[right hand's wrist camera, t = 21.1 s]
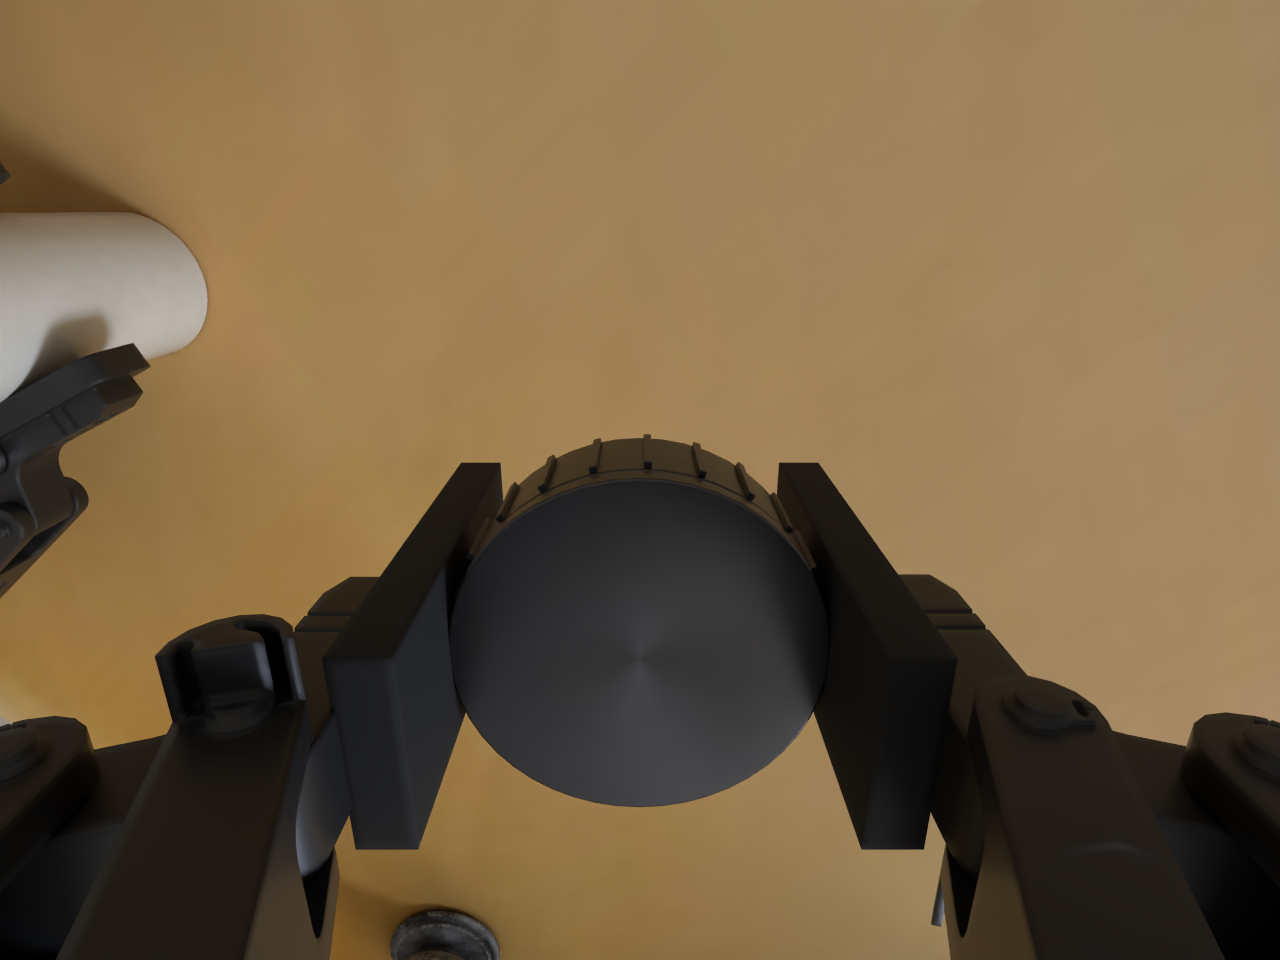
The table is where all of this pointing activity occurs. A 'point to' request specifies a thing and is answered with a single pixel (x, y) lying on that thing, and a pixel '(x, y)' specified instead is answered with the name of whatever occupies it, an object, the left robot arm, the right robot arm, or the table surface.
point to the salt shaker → (443, 938)
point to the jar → (91, 291)
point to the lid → (639, 625)
